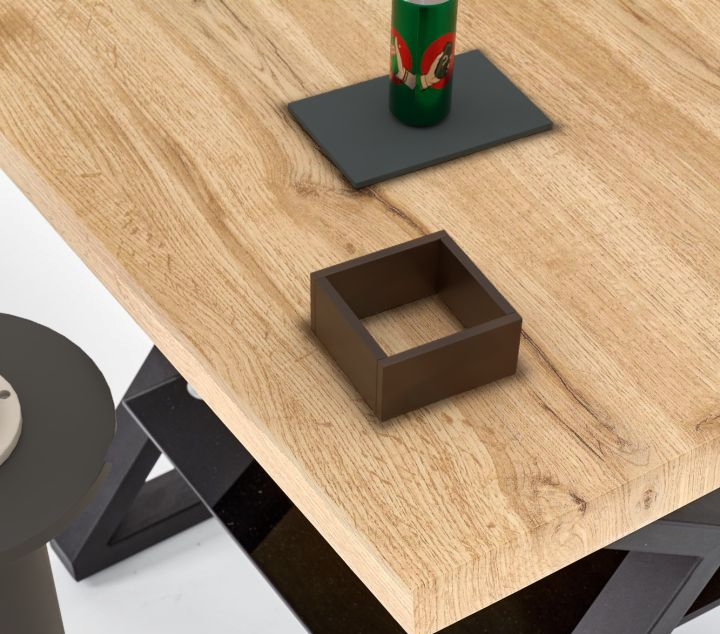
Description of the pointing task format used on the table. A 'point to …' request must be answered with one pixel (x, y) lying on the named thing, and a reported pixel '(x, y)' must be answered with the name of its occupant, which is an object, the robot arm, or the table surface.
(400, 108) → the soda can
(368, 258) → the frame
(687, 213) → the table surface
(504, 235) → the table surface
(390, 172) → the mat
